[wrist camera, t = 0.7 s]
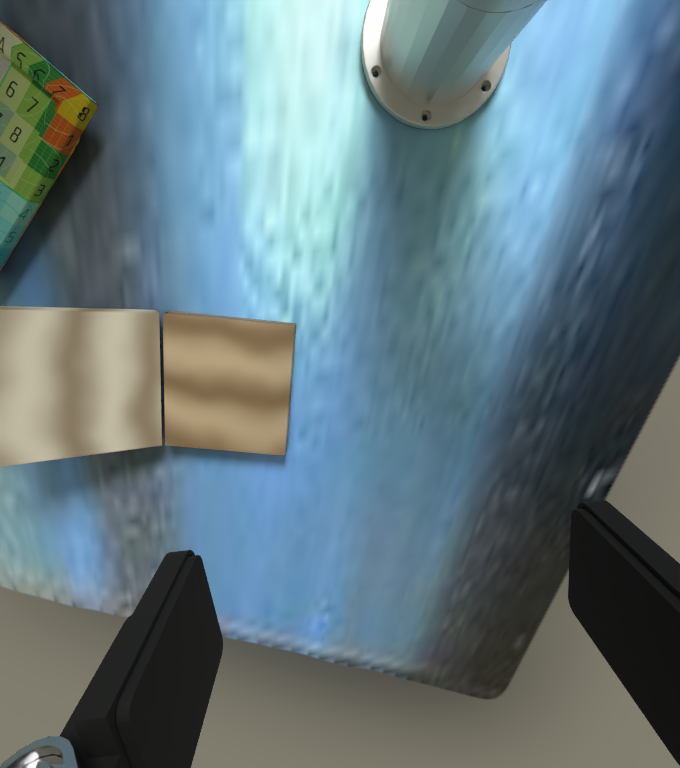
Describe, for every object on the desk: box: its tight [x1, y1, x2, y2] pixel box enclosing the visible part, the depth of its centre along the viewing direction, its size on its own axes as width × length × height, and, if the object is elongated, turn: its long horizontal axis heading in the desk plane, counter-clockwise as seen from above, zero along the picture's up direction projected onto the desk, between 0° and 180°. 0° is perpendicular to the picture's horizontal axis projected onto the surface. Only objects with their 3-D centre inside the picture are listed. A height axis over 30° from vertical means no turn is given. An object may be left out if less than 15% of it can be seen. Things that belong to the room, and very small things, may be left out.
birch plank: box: [0, 306, 162, 467], centre depth 39 cm, size 14×14×2 cm
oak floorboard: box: [163, 311, 296, 456], centre depth 43 cm, size 14×13×2 cm
